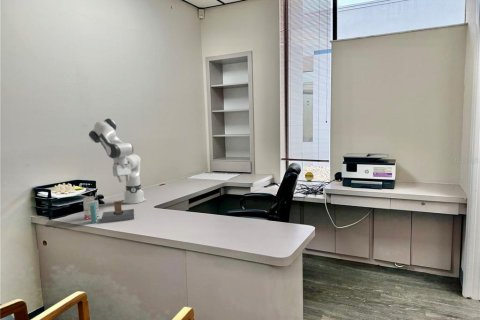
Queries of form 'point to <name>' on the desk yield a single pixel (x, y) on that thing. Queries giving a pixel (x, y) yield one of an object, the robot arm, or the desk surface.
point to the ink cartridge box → (87, 206)
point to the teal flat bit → (93, 212)
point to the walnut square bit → (117, 207)
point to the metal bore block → (118, 215)
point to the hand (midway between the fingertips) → (124, 181)
